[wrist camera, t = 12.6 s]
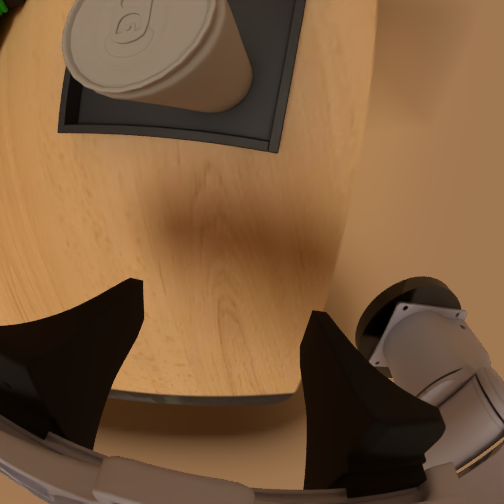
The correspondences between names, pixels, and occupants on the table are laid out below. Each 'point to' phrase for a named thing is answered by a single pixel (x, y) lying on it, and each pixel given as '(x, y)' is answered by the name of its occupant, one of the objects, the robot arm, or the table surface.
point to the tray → (201, 123)
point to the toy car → (8, 5)
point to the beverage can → (159, 52)
